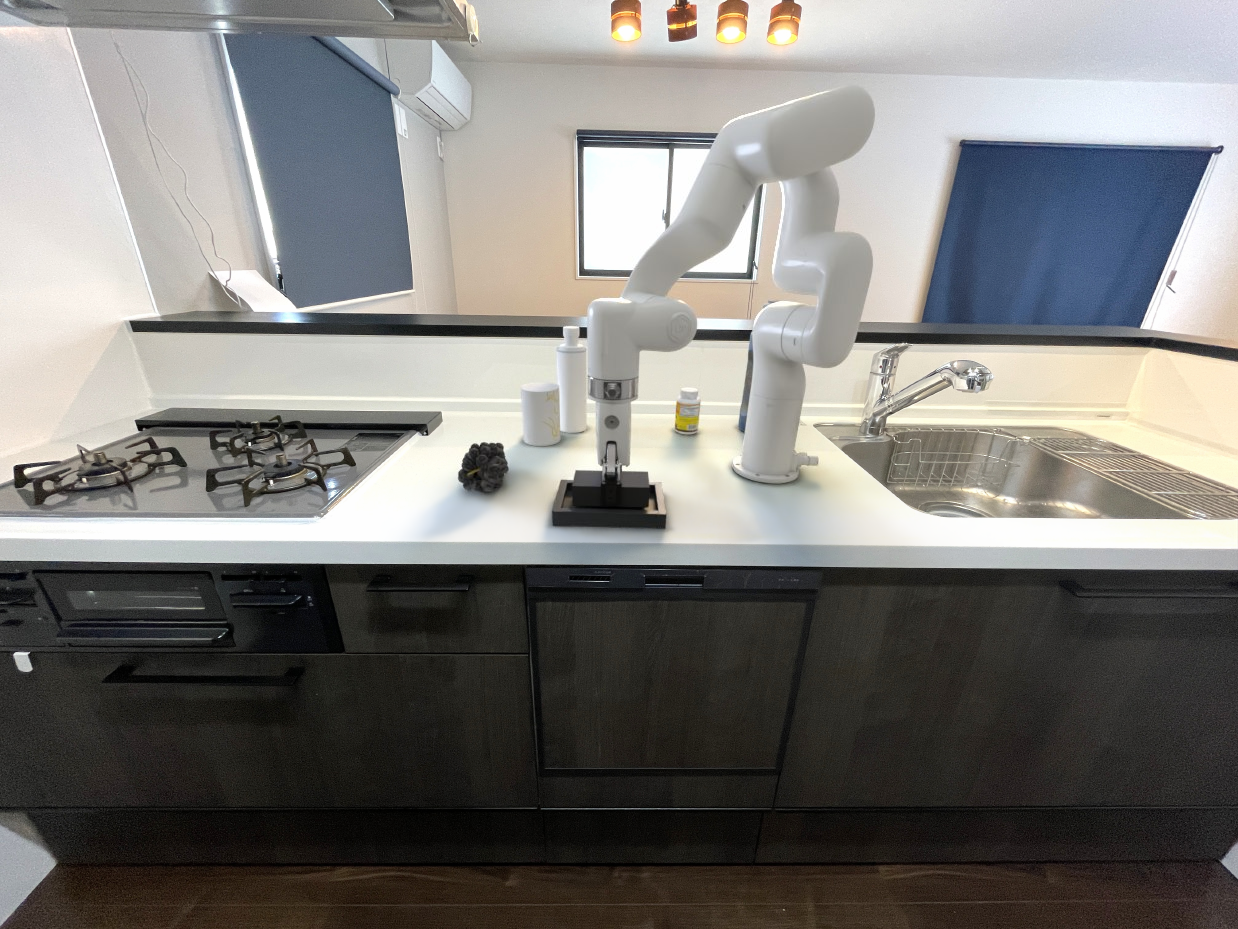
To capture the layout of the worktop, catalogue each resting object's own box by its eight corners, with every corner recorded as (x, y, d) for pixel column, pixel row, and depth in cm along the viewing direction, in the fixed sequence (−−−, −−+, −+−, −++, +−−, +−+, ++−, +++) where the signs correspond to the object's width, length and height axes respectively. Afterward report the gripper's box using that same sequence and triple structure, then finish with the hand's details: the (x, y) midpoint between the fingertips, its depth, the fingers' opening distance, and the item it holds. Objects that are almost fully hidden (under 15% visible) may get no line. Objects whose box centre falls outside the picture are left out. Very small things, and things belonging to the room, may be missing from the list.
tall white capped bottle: (592, 428, 117) (592, 320, 107) (570, 435, 113) (568, 322, 103) (574, 422, 121) (573, 317, 111) (552, 427, 117) (549, 319, 107)
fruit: (482, 419, 93) (459, 446, 79) (524, 433, 94) (509, 462, 80) (471, 459, 96) (447, 492, 82) (512, 472, 97) (495, 507, 83)
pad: (647, 490, 83) (647, 471, 81) (648, 507, 77) (649, 487, 76) (575, 489, 83) (575, 470, 81) (572, 506, 77) (571, 486, 76)
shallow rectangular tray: (660, 495, 86) (661, 482, 85) (665, 528, 76) (666, 514, 75) (561, 492, 86) (560, 479, 85) (552, 525, 76) (551, 511, 75)
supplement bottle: (679, 426, 120) (682, 385, 116) (700, 430, 118) (705, 388, 114) (670, 432, 116) (673, 390, 112) (693, 437, 114) (697, 393, 110)
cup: (553, 447, 105) (552, 393, 101) (518, 444, 107) (514, 390, 102) (565, 435, 113) (564, 383, 108) (531, 431, 114) (529, 380, 109)
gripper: (640, 404, 65) (635, 523, 72) (637, 374, 81) (633, 473, 88) (583, 403, 65) (584, 522, 72) (591, 373, 81) (591, 473, 88)
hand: (611, 494), depth 80 cm, fingers closed on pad, 6 cm apart
